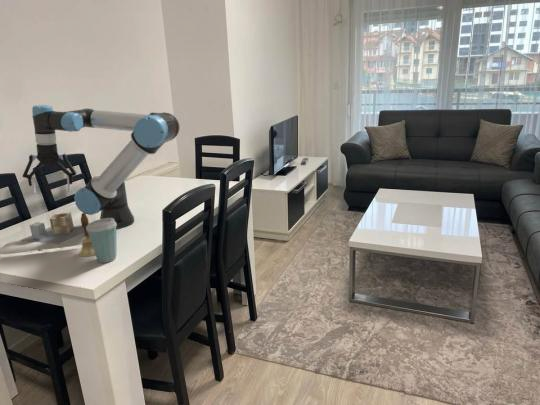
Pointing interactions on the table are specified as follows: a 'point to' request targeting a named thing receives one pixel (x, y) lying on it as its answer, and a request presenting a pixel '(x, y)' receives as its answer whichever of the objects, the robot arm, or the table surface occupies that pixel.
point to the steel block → (38, 231)
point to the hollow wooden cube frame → (61, 223)
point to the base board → (56, 236)
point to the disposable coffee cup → (103, 238)
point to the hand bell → (86, 239)
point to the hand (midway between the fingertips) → (52, 192)
